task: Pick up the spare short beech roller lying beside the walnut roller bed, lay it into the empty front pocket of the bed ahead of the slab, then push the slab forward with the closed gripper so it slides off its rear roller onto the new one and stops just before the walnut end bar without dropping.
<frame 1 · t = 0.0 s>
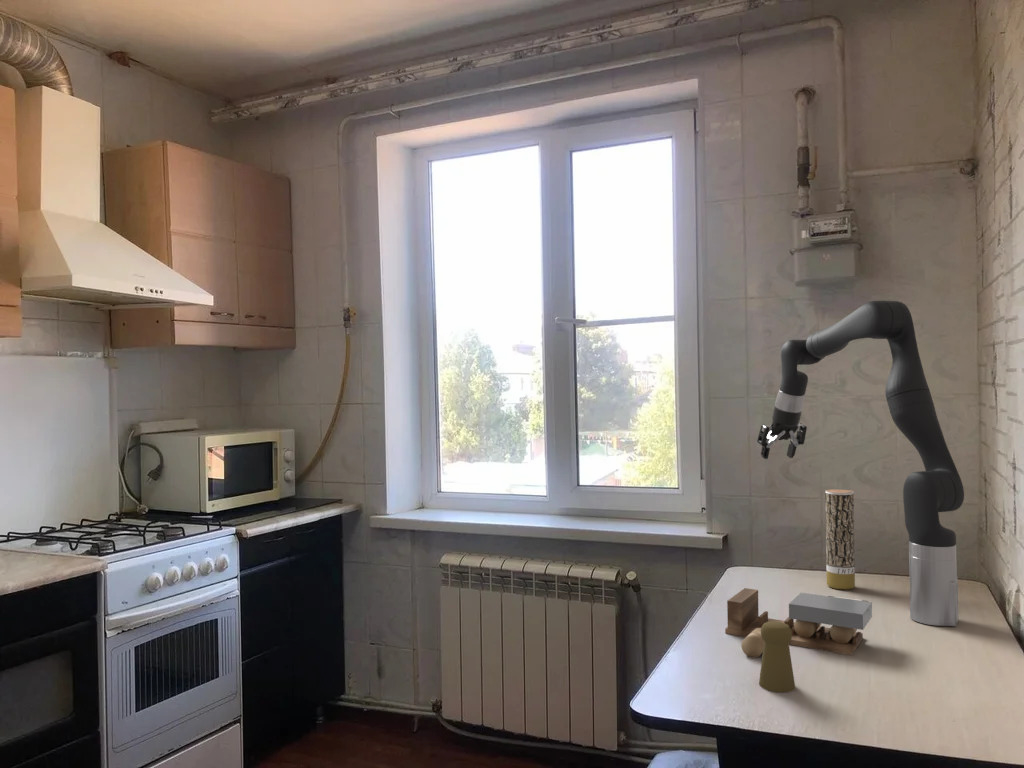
hand: (777, 457, 224), 31 cm above the table, tool tilted 20°, fingers open, 8 cm apart
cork: (777, 686, 134), on the table
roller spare: (756, 652, 151), on the table
chocolate bar: (840, 612, 179), on the table
roller bed: (793, 635, 161), on the table
paper tube: (840, 587, 198), on the table
slab: (830, 617, 156), point 5 cm above the table, touching roller bed
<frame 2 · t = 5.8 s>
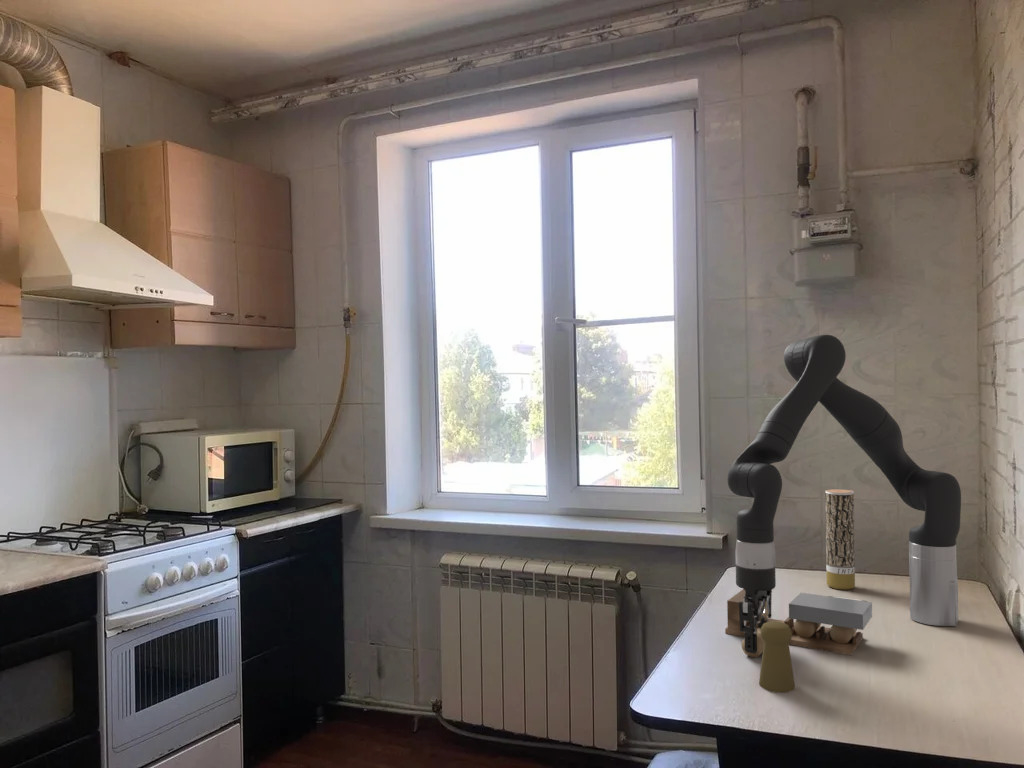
hand: (756, 646, 151), 1 cm above the table, tool pointing down, fingers closed on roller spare, 6 cm apart
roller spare: (756, 652, 151), on the table, touching gripper
everything else where it was.
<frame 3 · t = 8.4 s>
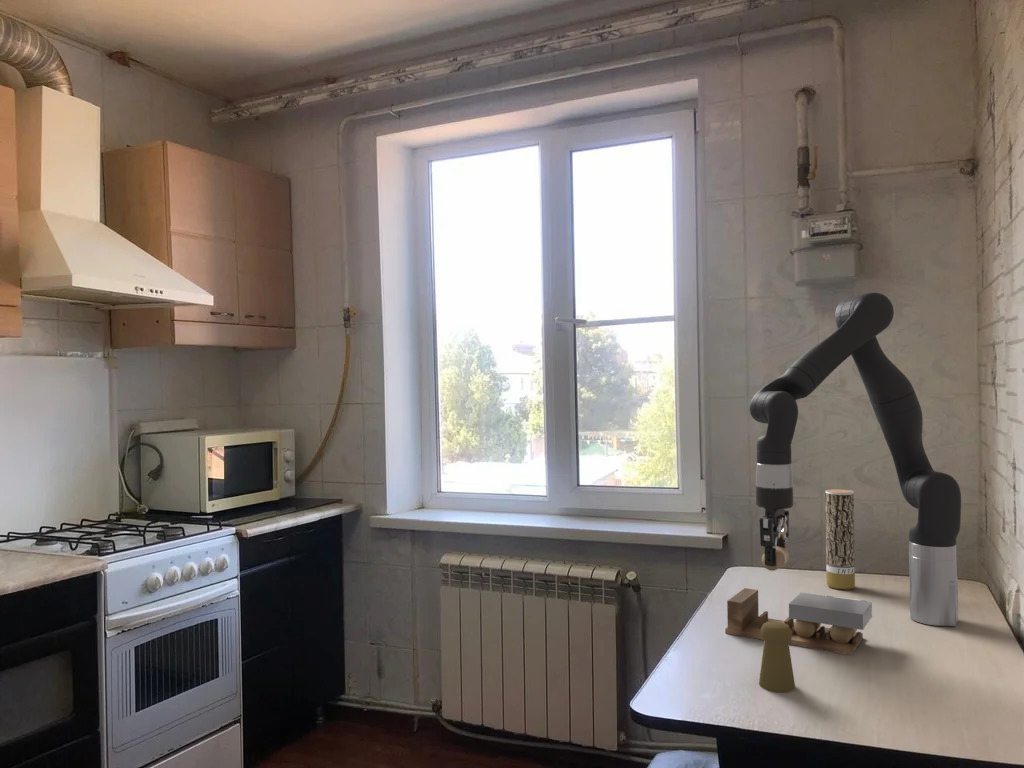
hand: (775, 562, 163), 15 cm above the table, tool pointing down, fingers closed on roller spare, 6 cm apart
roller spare: (775, 567, 163), point 14 cm above the table, touching gripper
everything else where it was.
when the fingers open (2 cm above the table, at t = 11.2 s): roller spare stays where it is, resting on roller bed.
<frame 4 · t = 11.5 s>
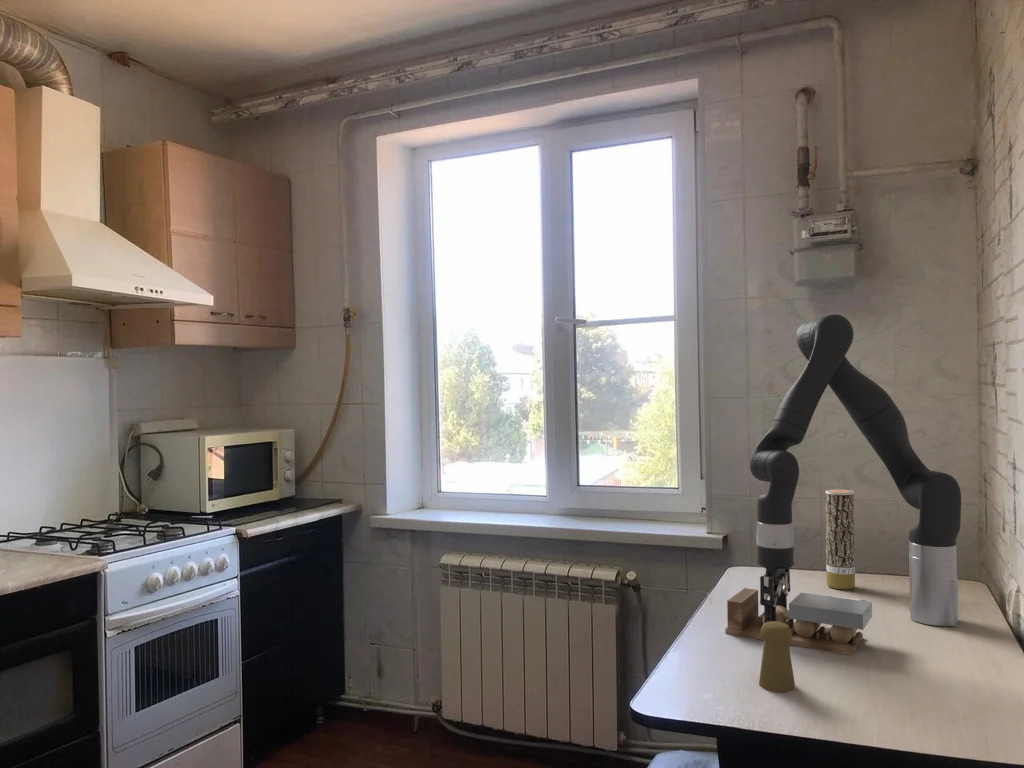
hand: (776, 619, 163), 3 cm above the table, tool pointing down, fingers open, 8 cm apart
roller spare: (776, 628, 163), point 1 cm above the table, touching roller bed
everything else where it was.
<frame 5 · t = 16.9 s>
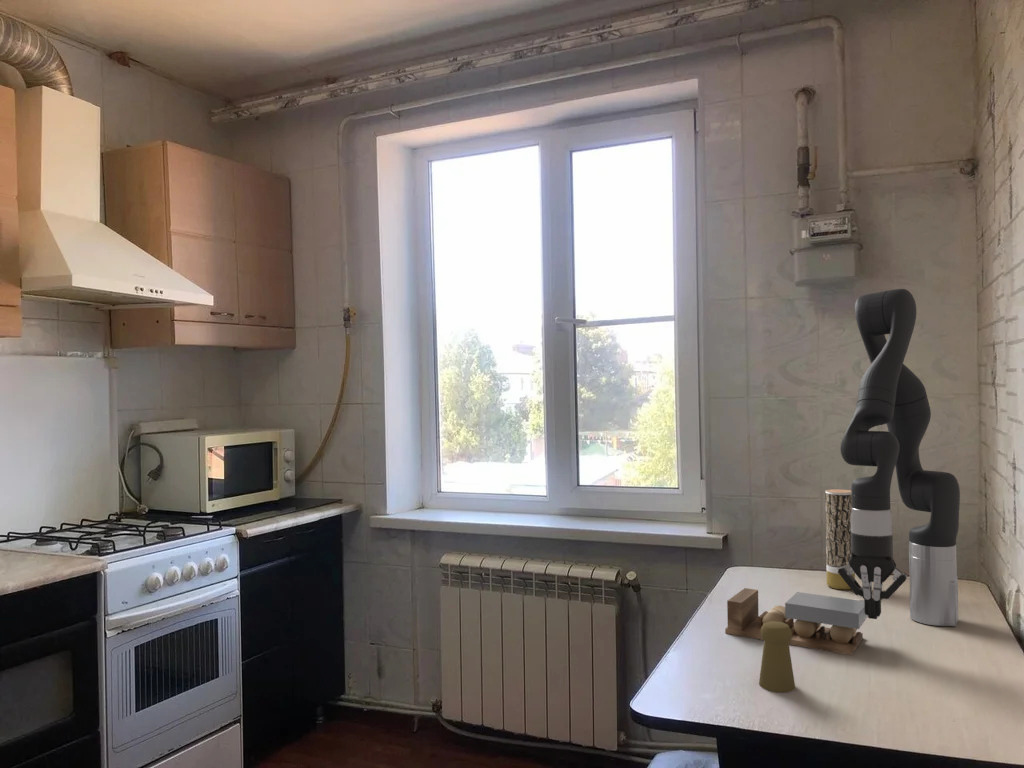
hand: (873, 617, 152), 6 cm above the table, tool pointing down, fingers closed
slab: (826, 616, 157), point 5 cm above the table, touching gripper
everything else where it was.
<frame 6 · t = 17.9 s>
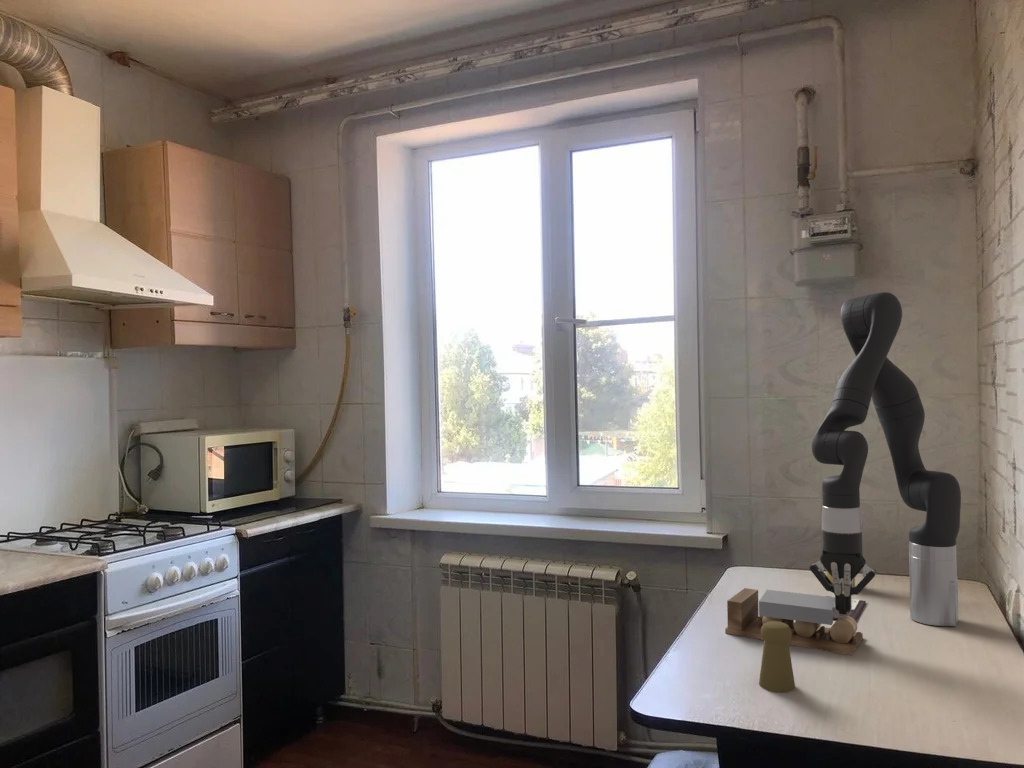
hand: (843, 613, 155), 6 cm above the table, tool pointing down, fingers closed
slab: (797, 613, 159), point 5 cm above the table, touching gripper, roller bed
everything else where it was.
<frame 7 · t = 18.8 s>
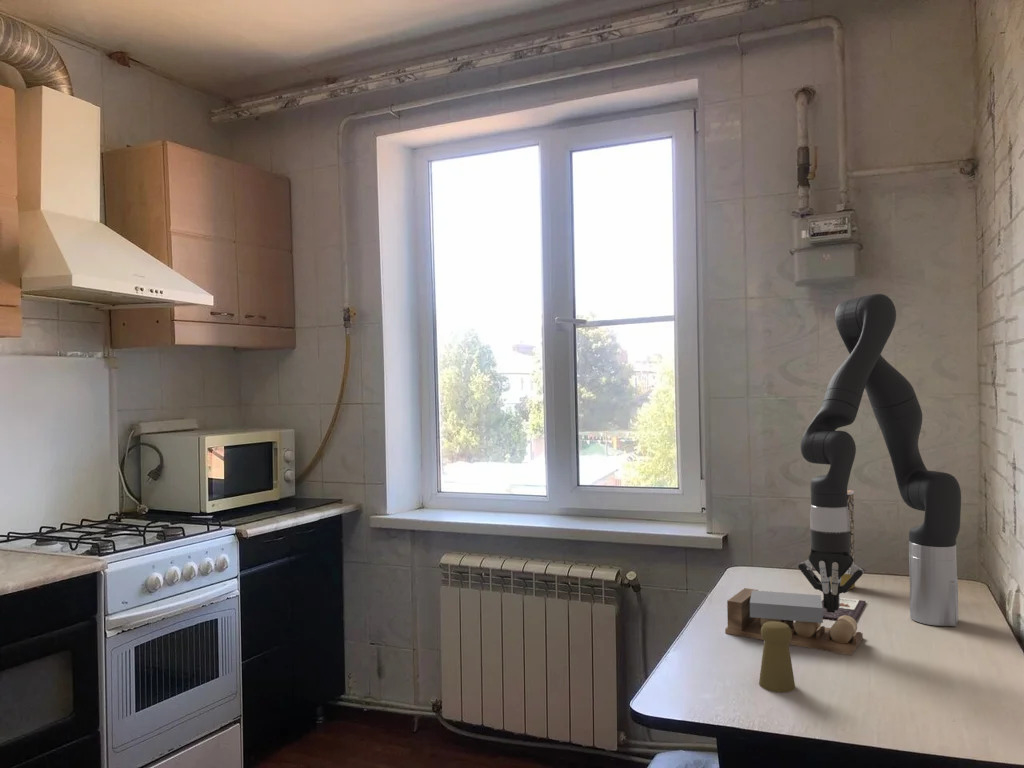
hand: (831, 611, 157), 6 cm above the table, tool pointing down, fingers closed
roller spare: (775, 628, 162), point 1 cm above the table, tilted 9°, touching roller bed, slab
slab: (786, 613, 160), point 5 cm above the table, touching gripper, roller bed, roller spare
everything else where it was.
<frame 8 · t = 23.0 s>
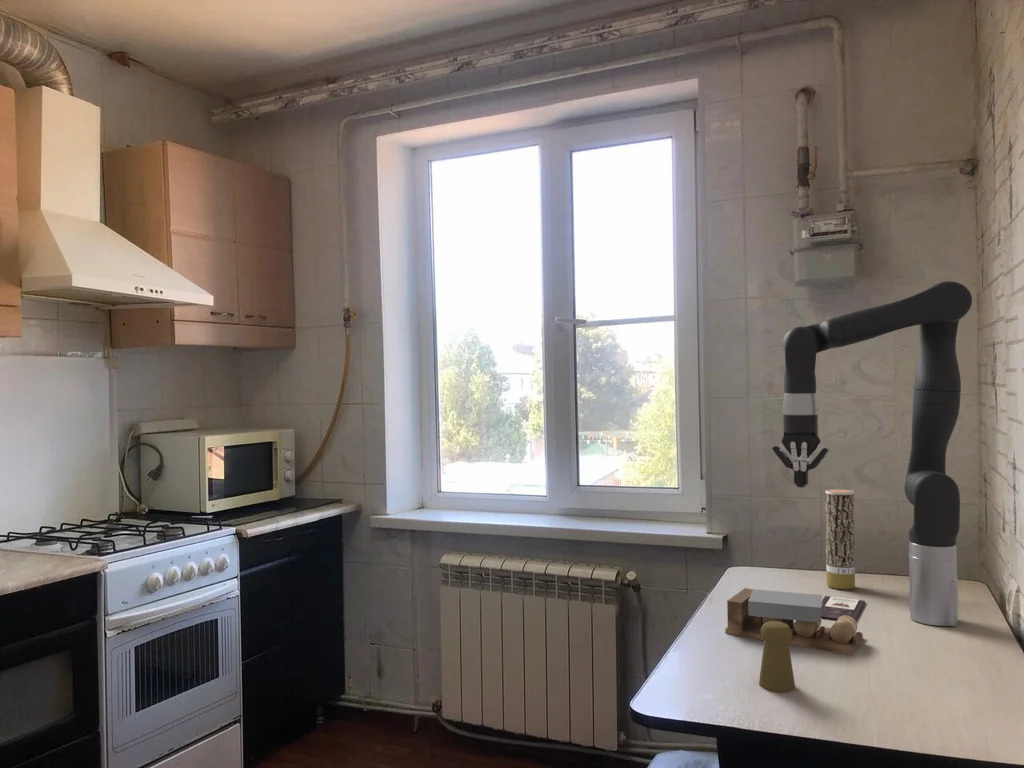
hand: (801, 486, 178), 29 cm above the table, tool pointing down, fingers closed
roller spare: (778, 627, 163), point 1 cm above the table, tilted 8°, touching roller bed, slab
slab: (785, 612, 160), point 5 cm above the table, touching roller bed, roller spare
everything else where it was.
at the end: slab inside the target area (1.0 cm from its centre), point 5.0 cm above the table; slab tilted 0°; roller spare 2.9 cm from the slab (horizontally) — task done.
